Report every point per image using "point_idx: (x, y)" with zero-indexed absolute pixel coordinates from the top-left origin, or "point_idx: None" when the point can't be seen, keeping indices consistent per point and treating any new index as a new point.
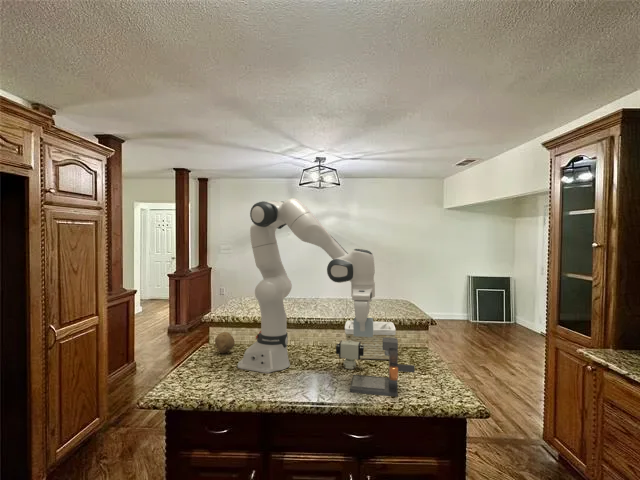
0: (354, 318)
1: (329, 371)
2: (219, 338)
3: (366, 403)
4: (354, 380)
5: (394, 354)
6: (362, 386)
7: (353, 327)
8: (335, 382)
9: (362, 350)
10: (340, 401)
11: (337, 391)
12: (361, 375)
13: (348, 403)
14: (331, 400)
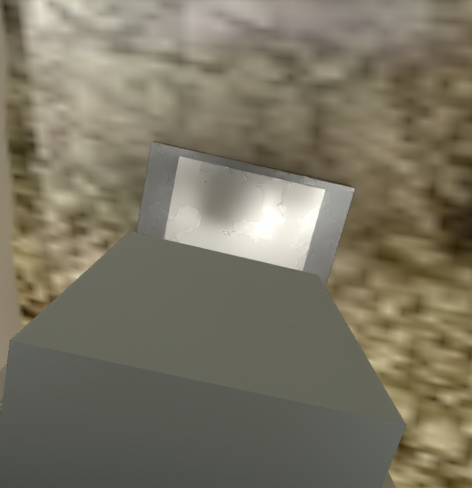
0: (222, 393)
1: (463, 43)
2: None
3: (36, 207)
4: (255, 182)
5: None
6: (175, 214)
7: None
8: (286, 70)
9: None
10: (43, 78)
11: (163, 72)
12: (337, 233)
13: (26, 118)
14: (49, 28)
